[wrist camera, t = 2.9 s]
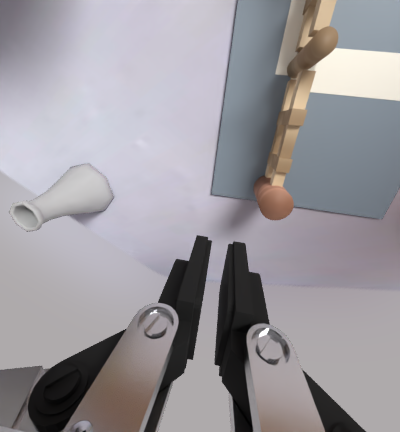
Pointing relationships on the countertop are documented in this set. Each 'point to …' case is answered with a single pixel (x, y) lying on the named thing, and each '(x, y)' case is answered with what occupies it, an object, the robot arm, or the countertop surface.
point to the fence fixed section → (314, 36)
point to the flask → (65, 198)
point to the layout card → (316, 107)
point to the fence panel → (283, 149)
